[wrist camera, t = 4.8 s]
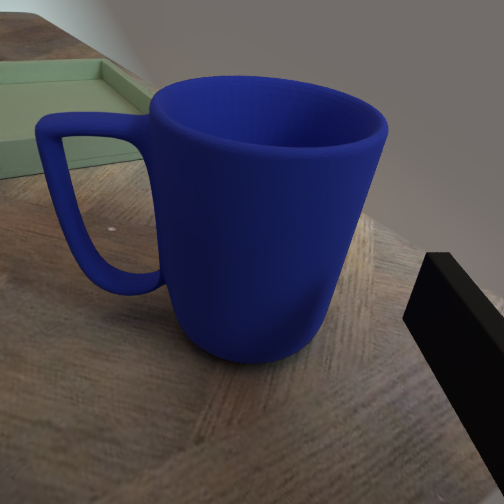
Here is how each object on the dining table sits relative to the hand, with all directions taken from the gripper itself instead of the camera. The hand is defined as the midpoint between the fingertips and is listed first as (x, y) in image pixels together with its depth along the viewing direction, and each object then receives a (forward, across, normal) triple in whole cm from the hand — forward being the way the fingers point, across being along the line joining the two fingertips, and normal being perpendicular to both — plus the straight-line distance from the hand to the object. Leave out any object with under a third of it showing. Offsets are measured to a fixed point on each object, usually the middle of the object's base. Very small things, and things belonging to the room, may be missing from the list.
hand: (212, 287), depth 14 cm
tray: (+31, -13, -6) cm, 34 cm away
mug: (+5, 0, -6) cm, 8 cm away
